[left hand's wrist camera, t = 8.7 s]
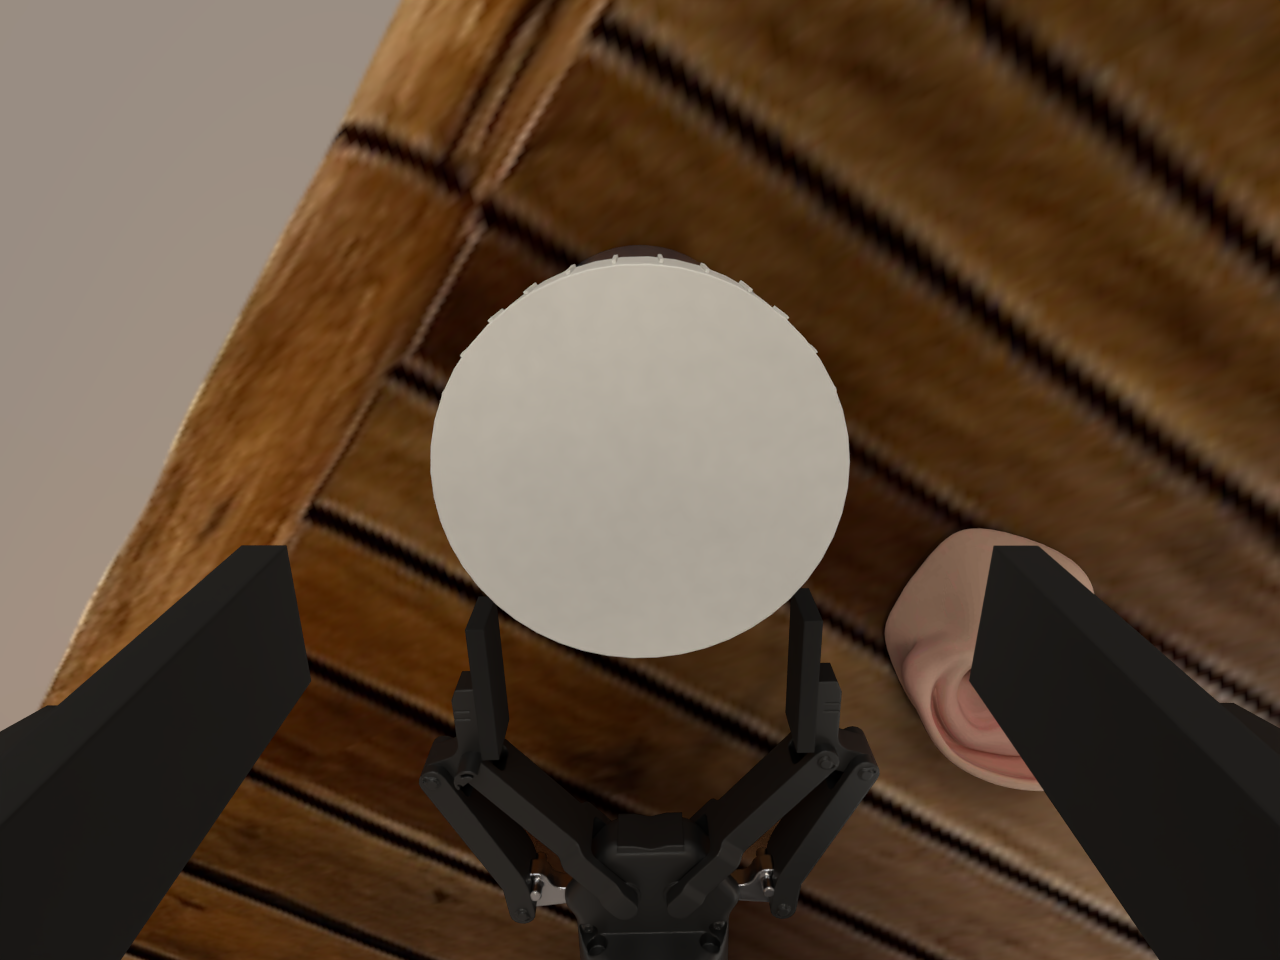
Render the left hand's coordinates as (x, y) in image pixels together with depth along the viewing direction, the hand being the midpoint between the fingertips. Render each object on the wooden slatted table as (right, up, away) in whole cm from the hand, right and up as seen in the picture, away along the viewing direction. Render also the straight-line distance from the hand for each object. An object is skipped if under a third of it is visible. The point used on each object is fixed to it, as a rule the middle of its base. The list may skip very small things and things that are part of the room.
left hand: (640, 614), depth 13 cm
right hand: (0, -3, +18) cm, 18 cm away
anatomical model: (+18, -6, +26) cm, 33 cm away
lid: (0, +2, +7) cm, 7 cm away
